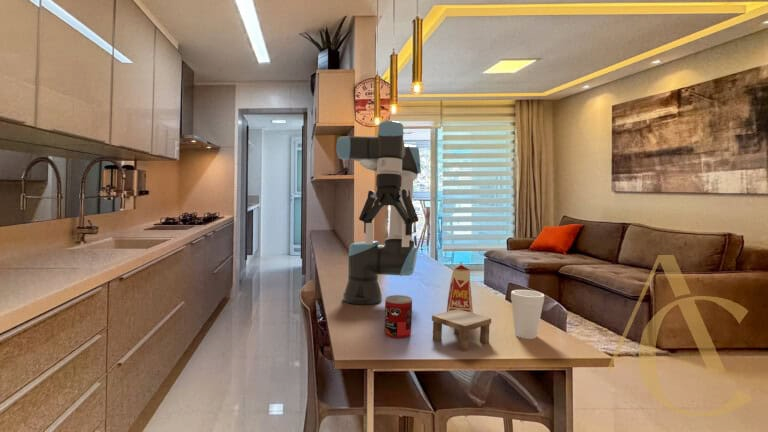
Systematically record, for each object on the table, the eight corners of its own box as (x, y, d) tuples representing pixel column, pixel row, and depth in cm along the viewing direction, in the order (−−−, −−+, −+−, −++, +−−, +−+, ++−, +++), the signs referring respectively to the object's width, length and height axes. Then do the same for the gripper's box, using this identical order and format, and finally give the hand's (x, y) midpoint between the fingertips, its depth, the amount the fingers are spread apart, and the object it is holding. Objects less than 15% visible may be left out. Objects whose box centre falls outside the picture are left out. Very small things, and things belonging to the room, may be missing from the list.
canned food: (380, 331, 126) (381, 296, 126) (404, 329, 129) (405, 294, 129) (390, 340, 119) (391, 302, 119) (415, 337, 122) (416, 300, 122)
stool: (431, 339, 121) (432, 315, 120) (457, 331, 128) (458, 308, 128) (464, 351, 112) (465, 326, 111) (490, 342, 119) (491, 318, 119)
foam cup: (506, 329, 131) (508, 289, 130) (535, 330, 131) (537, 290, 130) (514, 340, 122) (516, 296, 121) (546, 341, 121) (548, 297, 121)
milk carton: (473, 322, 138) (475, 263, 137) (445, 320, 140) (447, 261, 139) (472, 315, 147) (475, 259, 146) (446, 312, 148) (448, 257, 147)
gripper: (349, 174, 128) (346, 243, 127) (417, 170, 112) (414, 248, 112) (365, 177, 134) (362, 243, 133) (431, 173, 118) (429, 247, 118)
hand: (386, 245), depth 122 cm, fingers open, 13 cm apart
